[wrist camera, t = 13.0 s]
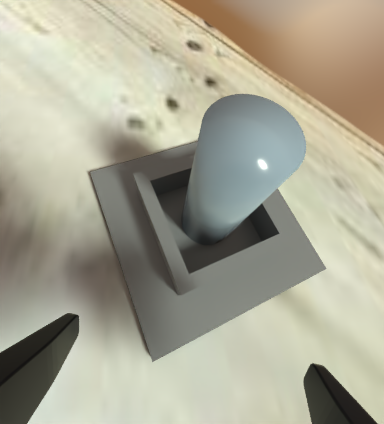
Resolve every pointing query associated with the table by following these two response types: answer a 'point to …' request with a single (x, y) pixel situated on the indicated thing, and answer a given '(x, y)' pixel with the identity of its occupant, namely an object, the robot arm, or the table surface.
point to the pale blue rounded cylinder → (238, 164)
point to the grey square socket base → (194, 251)
